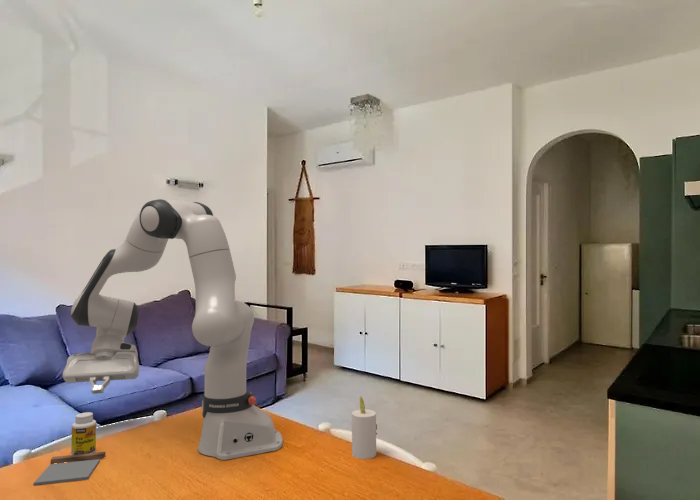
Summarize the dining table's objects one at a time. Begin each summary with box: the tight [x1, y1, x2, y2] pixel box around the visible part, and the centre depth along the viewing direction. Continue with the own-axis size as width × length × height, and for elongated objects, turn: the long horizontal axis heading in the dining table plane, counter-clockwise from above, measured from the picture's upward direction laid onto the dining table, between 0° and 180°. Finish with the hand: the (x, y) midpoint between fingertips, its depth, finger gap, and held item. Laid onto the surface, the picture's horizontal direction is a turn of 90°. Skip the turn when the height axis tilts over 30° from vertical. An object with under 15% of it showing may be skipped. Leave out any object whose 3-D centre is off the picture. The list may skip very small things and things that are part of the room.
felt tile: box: [32, 459, 101, 486], centre depth 109 cm, size 11×10×1 cm
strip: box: [50, 451, 106, 464], centre depth 116 cm, size 12×2×1 cm, turn 105°
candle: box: [351, 395, 378, 460], centre depth 119 cm, size 6×6×15 cm
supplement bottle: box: [70, 411, 97, 455], centre depth 120 cm, size 6×6×10 cm
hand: (97, 392), depth 132 cm, fingers closed
